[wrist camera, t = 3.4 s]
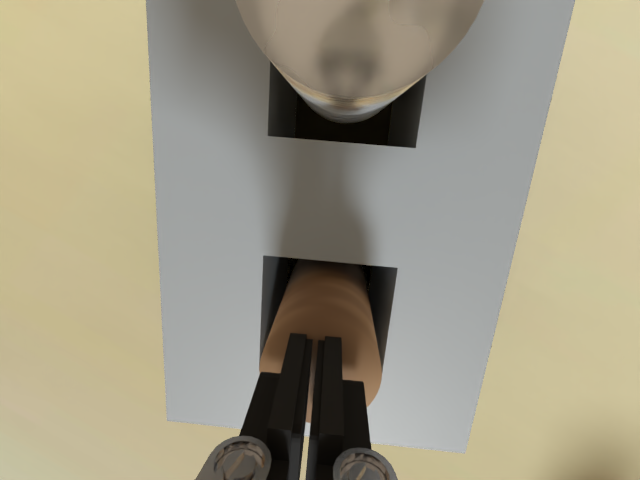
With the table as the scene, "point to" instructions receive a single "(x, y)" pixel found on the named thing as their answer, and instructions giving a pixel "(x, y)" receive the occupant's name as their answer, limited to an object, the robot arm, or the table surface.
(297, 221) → the socket board
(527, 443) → the table surface
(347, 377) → the brown rounded cylinder
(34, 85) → the table surface
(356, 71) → the steel peg
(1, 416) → the table surface
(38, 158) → the table surface
